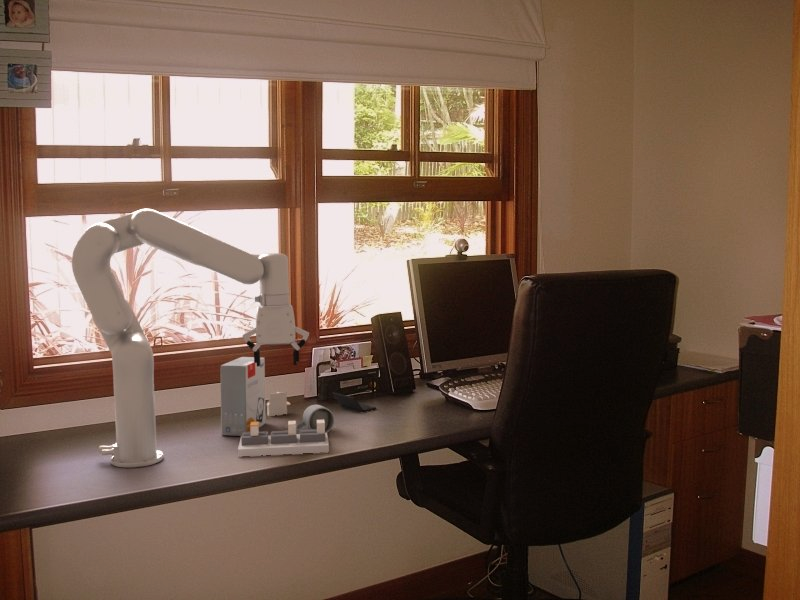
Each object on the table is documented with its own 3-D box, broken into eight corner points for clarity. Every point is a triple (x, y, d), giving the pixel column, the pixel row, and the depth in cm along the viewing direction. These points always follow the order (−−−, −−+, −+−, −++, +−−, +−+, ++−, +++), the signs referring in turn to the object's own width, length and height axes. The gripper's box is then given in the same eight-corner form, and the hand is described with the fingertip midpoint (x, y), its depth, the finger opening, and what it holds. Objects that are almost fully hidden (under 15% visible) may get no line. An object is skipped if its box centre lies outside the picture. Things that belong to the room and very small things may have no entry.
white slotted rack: (238, 457, 206) (237, 430, 205) (241, 443, 218) (240, 419, 217) (328, 452, 209) (328, 426, 208) (327, 439, 221) (326, 415, 220)
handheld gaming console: (380, 403, 257) (364, 382, 252) (370, 421, 252) (354, 399, 247) (353, 403, 264) (337, 382, 259) (343, 420, 259) (327, 399, 255)
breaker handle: (250, 435, 210) (250, 425, 210) (251, 432, 214) (250, 421, 214) (258, 435, 211) (258, 425, 210) (258, 431, 214) (258, 421, 214)
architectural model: (266, 415, 251) (265, 391, 250) (287, 412, 254) (287, 389, 253) (269, 418, 248) (268, 394, 247) (291, 415, 251) (290, 391, 250)
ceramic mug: (326, 426, 235) (325, 400, 235) (335, 433, 228) (334, 406, 227) (290, 431, 231) (289, 404, 230) (298, 438, 224) (297, 411, 223)
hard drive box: (246, 437, 224) (244, 366, 222) (220, 436, 226) (218, 365, 224) (266, 423, 240) (264, 356, 238) (242, 422, 241) (240, 355, 239)
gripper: (240, 303, 208) (242, 368, 210) (307, 301, 210) (309, 366, 212) (243, 299, 216) (245, 363, 217) (308, 298, 217) (310, 361, 219)
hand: (277, 364), depth 215 cm, fingers open, 9 cm apart
